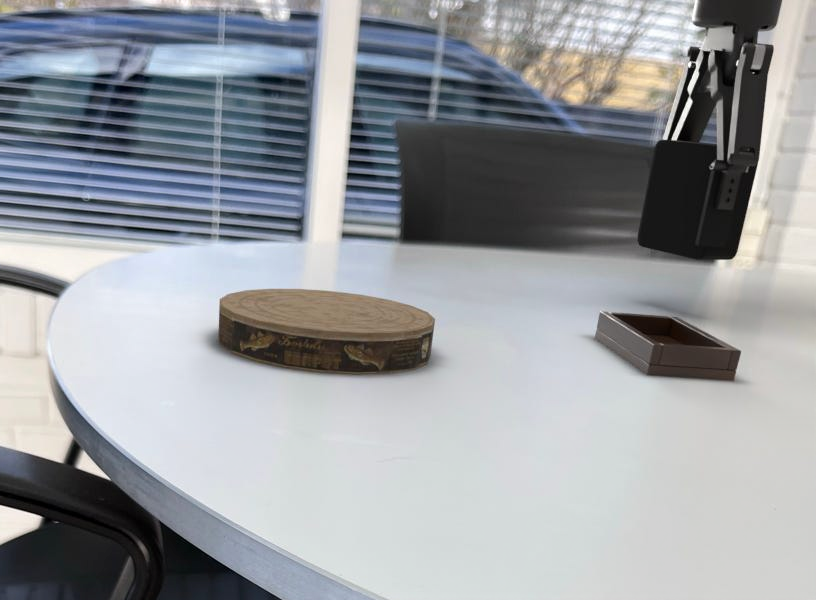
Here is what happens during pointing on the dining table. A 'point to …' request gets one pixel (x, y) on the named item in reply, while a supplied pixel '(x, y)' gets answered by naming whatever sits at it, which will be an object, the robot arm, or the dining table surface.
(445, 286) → the dining table surface
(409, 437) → the dining table surface
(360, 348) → the tin can
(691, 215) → the electronic device
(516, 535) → the dining table surface
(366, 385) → the dining table surface
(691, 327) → the brown box
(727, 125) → the robot arm
